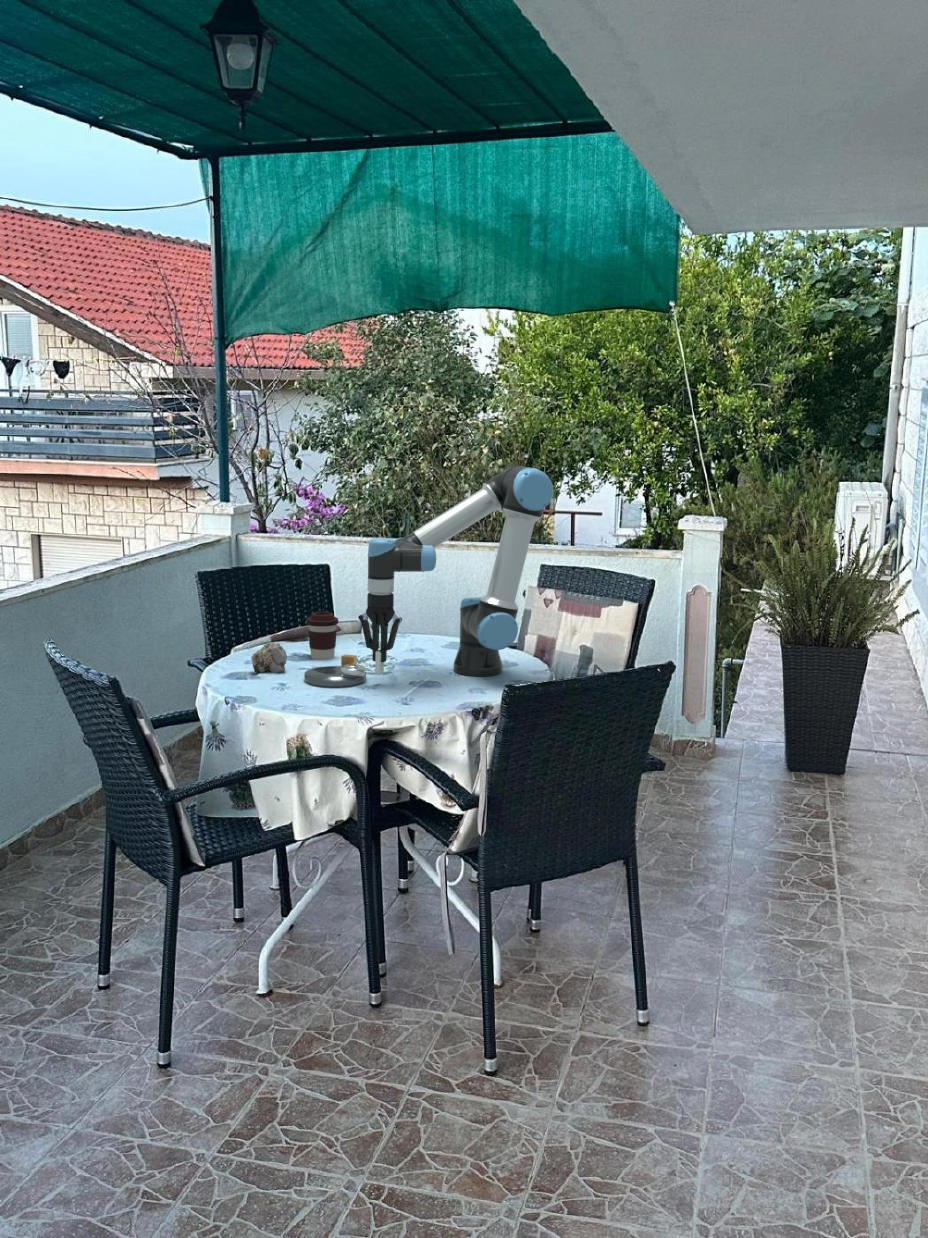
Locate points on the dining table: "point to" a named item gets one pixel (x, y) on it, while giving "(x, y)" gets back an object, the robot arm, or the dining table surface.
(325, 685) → the turntable
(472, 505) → the robot arm
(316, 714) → the dining table surface
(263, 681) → the dining table surface
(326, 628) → the coffee cup
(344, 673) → the cover
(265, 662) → the rock
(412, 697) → the dining table surface
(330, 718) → the dining table surface
